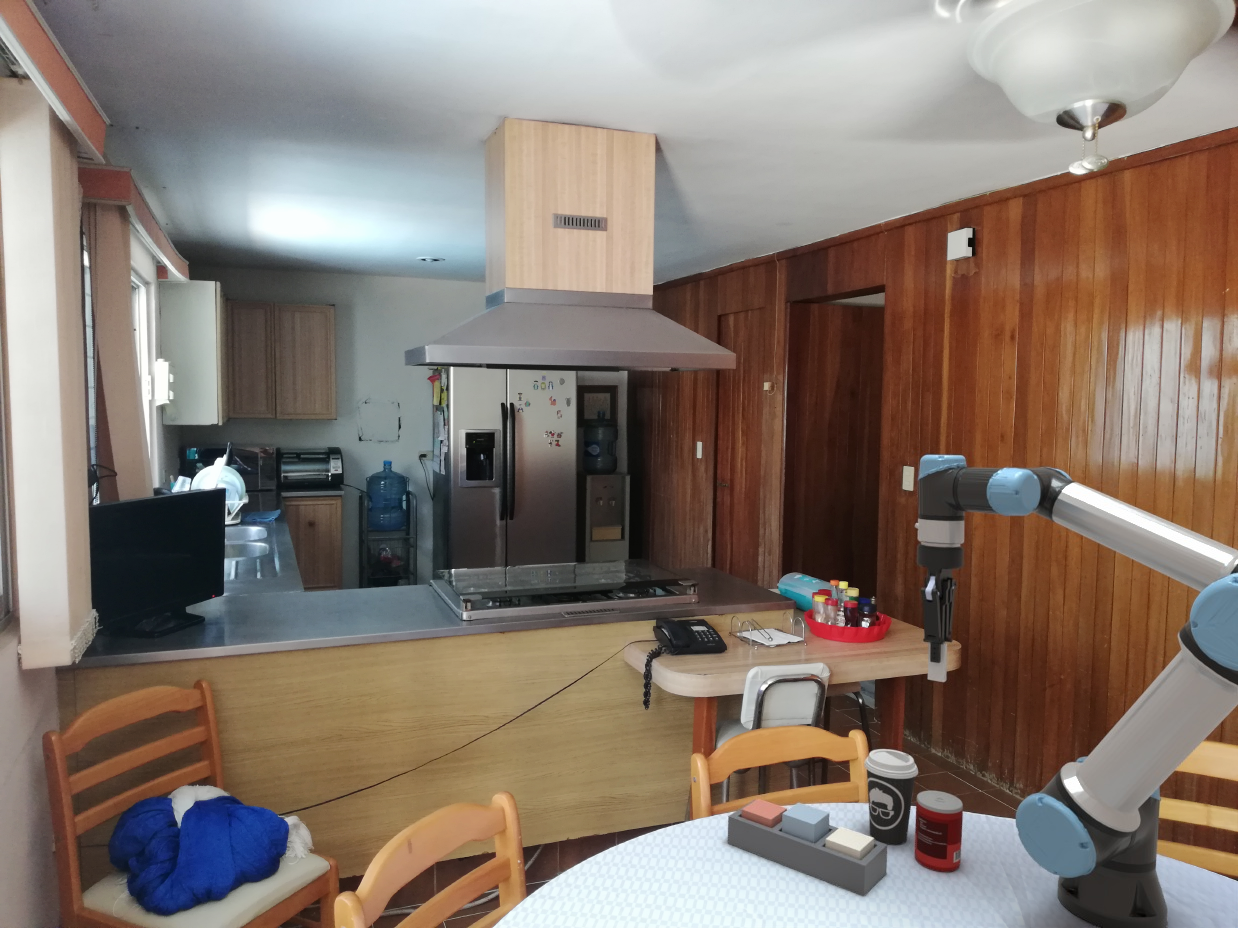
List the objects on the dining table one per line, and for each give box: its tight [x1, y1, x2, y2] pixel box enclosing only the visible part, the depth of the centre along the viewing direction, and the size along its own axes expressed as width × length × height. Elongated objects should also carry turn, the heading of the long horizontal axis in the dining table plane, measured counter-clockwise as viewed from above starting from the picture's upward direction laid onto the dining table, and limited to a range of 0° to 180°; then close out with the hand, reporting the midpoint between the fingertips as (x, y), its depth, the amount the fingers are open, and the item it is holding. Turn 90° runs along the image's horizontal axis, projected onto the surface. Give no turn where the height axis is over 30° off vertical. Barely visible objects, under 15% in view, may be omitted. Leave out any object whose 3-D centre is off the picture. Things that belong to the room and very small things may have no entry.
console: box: [726, 799, 888, 897], centre depth 146 cm, size 26×9×5 cm, turn 51°
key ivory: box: [825, 826, 875, 860], centre depth 141 cm, size 6×6×4 cm
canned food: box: [914, 790, 964, 873], centre depth 147 cm, size 8×8×11 cm
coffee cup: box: [863, 748, 919, 846], centre depth 155 cm, size 10×10×15 cm
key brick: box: [741, 798, 788, 828], centre depth 152 cm, size 6×6×4 cm
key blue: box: [782, 802, 830, 844], centre depth 146 cm, size 6×6×4 cm
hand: (937, 679), depth 144 cm, fingers closed
